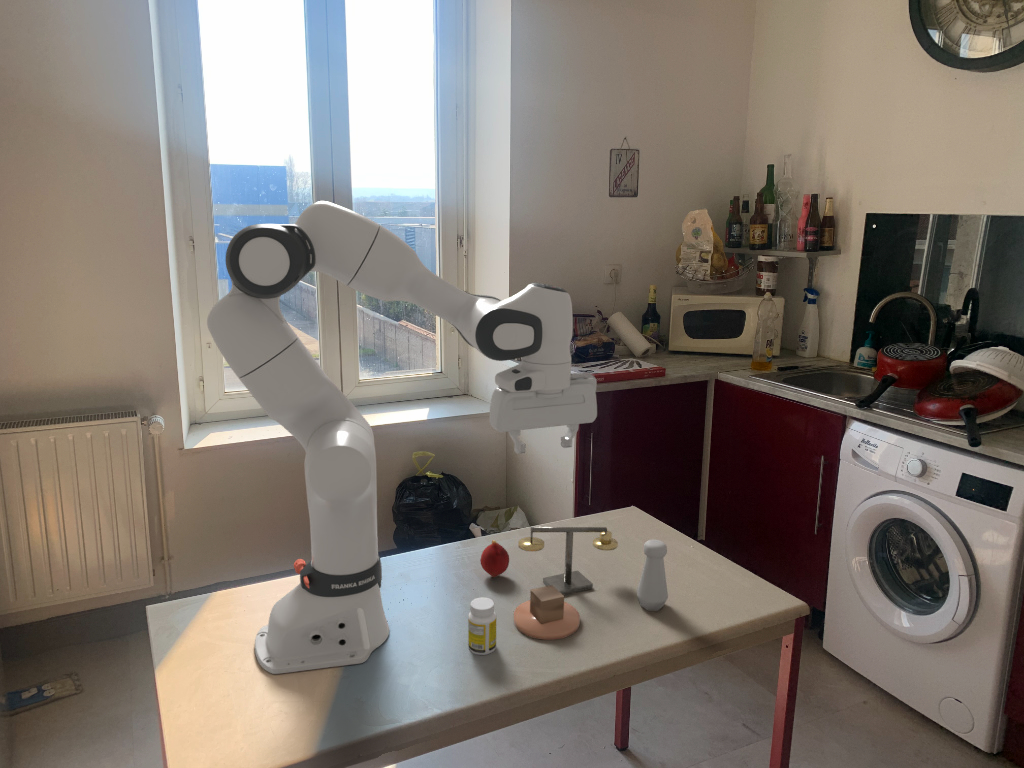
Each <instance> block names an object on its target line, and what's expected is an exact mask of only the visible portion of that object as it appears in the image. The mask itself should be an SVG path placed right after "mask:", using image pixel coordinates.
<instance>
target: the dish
mask: <svg viewBox="0 0 1024 768" xmlns="http://www.w3.org/2000/svg"><path fill="white" fill-rule="evenodd" d="M580 622H581V621H580V613H579V611H578V610H577V608H576V607H575V606H573V605H572V604H569V603H568V602H566V601H564V615H563V619H561V620H557V621H553V622H549V623H545V624H540V623H539V621H538V620H537V619H536V618H535V617H534V616H533V615H532V614H531V613H530V599H529V600H527V601H524V602H522V603H520V604H519V605H517V607H516V608H515V609H514V612H513V624H514V627H515V628H516V629H517V630H518V631H519V632H520V633H522V634H524V635H525V636H527V637H529V638H532V639H533V638H534V639H537V640H538V639H539V640H543V641H546V640H547V641H555V640H562V639H565V638H568V637H570V636H572V635H573V634H575V633H576V632H577V631H578V629H580V624H581V623H580Z"/></svg>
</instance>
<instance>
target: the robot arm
mask: <svg viewBox="0 0 1024 768" xmlns="http://www.w3.org/2000/svg"><path fill="white" fill-rule="evenodd" d="M225 267H226V271H227V274H228V276H229V278H230V281H231V289H230V290H229V292H228V293H227V294H226V295H224V296H223V297H222V298H221V299H219V300H218V301H217V302H216V303H215V304H214V305H213V307H212V308H211V309H210V311H209V313H208V316H207V320H206V325H207V328H208V331H209V333H210V335H211V338H212V339H213V341H214V343H215V345H216V347H217V348H218V351H219V352H220V354H221V355H222V357H223V358H224V360H225V362H226V363H227V364H228V366H229V367H230V369H231V370H232V371H233V373H234V374H235V375H236V377H237V378H238V379H239V381H240V382H241V383H242V384H243V386H244V387H245V388H246V390H247V391H248V392H249V393H250V395H251V396H252V397H253V399H254V400H255V401H256V402H257V404H258V405H259V406H260V407H261V409H262V410H263V411H264V412H265V413H266V415H267V416H268V417H269V418H270V419H271V420H273V421H275V422H276V423H278V424H279V425H280V426H281V427H283V428H284V429H285V431H287V432H288V433H289V434H290V435H292V437H293V438H294V439H296V440H297V442H298V443H299V444H300V446H302V448H303V449H304V452H305V456H304V457H305V458H304V462H303V463H304V466H303V467H304V478H305V479H304V480H305V481H304V482H305V489H306V499H307V501H306V502H307V508H308V515H309V516H308V517H309V528H310V531H309V532H310V550H311V551H310V552H311V559H310V560H309V562H307V563H306V561H305V560H304V559H302V558H297V559H296V560H295V561H294V563H293V567H294V571H295V573H296V574H298V575H299V581H300V583H299V584H297V585H296V586H295V587H294V588H293V589H291V590H290V591H289V592H287V593H286V594H285V595H283V597H281V598H280V599H279V600H277V601H276V602H275V603H273V606H272V608H271V610H270V613H269V618H268V624H266V625H263V626H262V627H261V628H260V629H259V630H258V632H257V633H256V636H255V639H254V653H255V657H256V660H257V662H258V664H259V666H261V668H262V669H263V670H265V671H266V672H268V673H270V674H272V675H279V674H286V673H293V672H294V673H295V672H301V671H310V670H312V671H313V670H319V669H326V668H334V667H341V666H349V665H359V664H362V663H364V662H366V661H367V660H368V659H369V657H370V656H371V654H372V652H373V651H374V650H376V649H377V648H379V647H380V646H381V645H382V644H383V643H384V642H386V640H387V638H388V637H389V634H390V625H389V623H388V621H387V617H386V615H385V610H384V605H383V601H382V599H383V598H382V594H381V588H382V580H383V576H382V573H383V569H382V567H383V566H382V562H381V557H380V556H379V547H378V544H379V543H378V542H379V541H378V540H379V539H378V494H377V493H378V489H377V488H378V487H377V481H378V480H377V479H378V478H377V455H376V453H377V452H376V446H375V437H374V436H375V435H374V431H373V428H372V426H371V425H370V424H369V422H368V421H367V419H366V418H365V417H364V416H363V414H362V413H361V412H360V411H359V410H358V408H357V407H356V406H355V405H354V404H353V402H352V401H351V400H350V399H349V398H348V397H347V396H346V395H345V394H344V393H343V392H342V390H341V389H339V387H338V386H337V385H336V383H334V382H333V381H332V379H330V377H328V375H327V374H326V372H325V371H324V370H323V368H322V366H320V364H319V362H318V361H317V360H316V359H315V358H314V356H313V355H312V354H311V352H310V351H309V349H307V347H306V346H305V344H304V343H303V341H302V340H301V339H300V337H299V336H298V335H297V334H296V332H295V331H294V329H293V327H291V326H290V324H289V323H288V322H287V320H286V318H285V316H284V315H283V313H282V310H281V307H280V301H281V300H280V299H281V296H282V295H284V294H287V293H288V292H290V291H291V290H292V289H294V288H295V286H297V285H298V283H300V282H301V280H302V279H304V278H305V276H306V275H308V274H309V273H310V272H316V273H321V274H323V275H326V276H329V277H330V278H332V279H334V280H336V281H338V282H340V283H341V284H343V285H345V286H346V287H349V288H350V289H352V290H354V291H357V292H359V293H360V294H363V295H366V296H369V297H372V298H374V299H376V300H380V301H384V302H397V301H398V302H399V301H400V302H406V303H411V304H414V305H416V306H418V307H420V308H421V309H424V310H425V311H427V312H430V313H432V314H433V315H435V316H437V317H439V318H440V319H442V320H443V321H445V322H447V323H449V324H451V326H453V327H454V328H455V330H457V332H458V334H459V335H460V336H461V338H462V339H463V340H464V342H466V343H467V344H468V345H469V346H470V347H472V348H475V350H476V351H478V352H479V353H480V354H482V355H483V356H484V357H486V358H488V359H489V360H492V361H497V362H504V361H511V360H515V359H520V358H521V359H520V360H521V362H520V363H518V364H516V365H514V366H512V367H509V368H506V369H504V370H502V371H500V372H498V373H496V374H495V376H494V382H495V384H496V385H497V387H496V388H495V389H494V390H493V392H492V395H491V398H490V406H489V417H488V418H489V424H490V426H491V427H492V428H493V429H494V430H495V431H497V432H498V433H506V432H508V435H509V437H510V438H511V440H512V442H513V444H514V445H513V450H514V453H515V454H517V455H519V454H525V453H526V444H527V443H524V442H523V441H521V440H520V439H519V437H520V436H521V431H525V430H535V429H545V428H554V427H562V426H566V427H567V428H568V429H567V430H566V432H565V435H564V436H563V435H562V436H560V446H561V447H562V448H564V449H567V448H572V447H573V439H574V437H575V436H576V435H577V432H578V431H579V426H580V424H590V423H593V422H594V421H596V418H597V417H598V404H597V403H598V402H597V393H596V392H597V384H598V383H597V382H598V381H597V379H596V377H595V375H593V374H591V373H590V372H586V371H585V372H581V373H579V372H578V373H577V372H575V373H574V372H571V371H572V354H571V349H570V346H571V341H572V338H573V328H574V327H573V322H574V320H573V303H572V299H571V295H570V293H569V292H568V291H567V290H565V289H564V288H562V287H559V286H554V285H550V284H547V283H545V284H544V283H541V282H532V283H529V284H527V286H526V287H525V288H523V289H522V290H520V291H518V292H517V293H516V294H514V295H511V296H510V297H507V298H505V299H503V300H501V299H500V298H497V297H495V296H491V295H484V294H473V293H470V292H468V291H465V290H462V289H461V288H459V287H458V286H456V285H454V284H452V283H450V282H449V281H447V280H446V279H443V277H440V276H439V275H436V274H435V273H434V272H432V270H430V269H428V267H426V266H425V264H424V263H423V262H422V260H420V258H419V256H418V254H417V252H416V251H415V250H414V249H413V247H411V246H410V245H409V244H408V243H406V241H404V240H403V239H401V238H400V237H399V236H398V235H396V234H395V233H393V232H392V231H391V230H389V229H387V227H384V226H382V225H381V224H379V223H377V222H376V221H374V220H372V219H370V218H368V217H366V216H364V215H363V214H360V213H358V212H356V211H354V210H352V209H349V208H346V207H344V206H342V205H338V204H335V203H333V202H330V201H328V200H327V201H325V200H320V201H316V202H314V203H311V204H310V205H308V206H307V207H306V208H305V209H304V210H303V211H302V212H301V213H300V214H299V216H298V218H297V220H296V221H295V222H294V223H293V224H292V223H290V224H288V223H287V224H286V223H284V224H282V223H281V224H279V223H256V224H252V225H247V226H246V227H244V228H242V229H240V230H239V231H238V232H236V233H235V235H234V236H233V237H232V238H231V239H230V242H229V244H228V245H227V248H226V252H225Z"/></svg>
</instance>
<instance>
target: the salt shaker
mask: <svg viewBox="0 0 1024 768" xmlns="http://www.w3.org/2000/svg"><path fill="white" fill-rule="evenodd" d="M643 554H644V555H645V560H644V565H643V569H642V572H641V575H640V579H639V582H638V585H637V590H636V596H637V599H638V602H639V605H640V606H641V608H643V609H645V610H646V611H654V612H658V611H659V610H661V609H662V608H663V607H664V605H665V604H666V602H667V601H668V597H669V593H668V585H667V576H666V569H665V568H666V567H665V560H664V557H666V556H667V554H668V546H667V544H666V542H664V541H662V540H659V539H649V540H647V541H645V542H644V544H643Z"/></svg>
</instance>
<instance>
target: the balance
mask: <svg viewBox="0 0 1024 768" xmlns="http://www.w3.org/2000/svg"><path fill="white" fill-rule="evenodd" d="M534 533H565V549H564V551H565V553H564V554H565V555H564V573H560V574H554V575H550V576H545V577H542V583H543V584H544V585H545V586H550V585H553V586H554V587H555V588H556V589H557V590H558V591H559V592H560V593H561V594H562V595H563V596H566V595H569V594H573V593H578V592H583V591H586V590H587V591H588V590H591V589H593V588H594V587H593V586H594V585H593V582H592V581H590V579H588V578H587V577H586V576H585V575H583V574H582V573H581V572H580V571H579V570H574V571H573V569H572V568H573V551H574V548H573V546H574V533H599V536H598V537H596V538H594V539H593V540H592V546H593V547H594V549H596V550H597V549H598V550H600V551H613V550H616V549H617V548H618V546H619V543H618V540H617V539H614V538H612V536H613V532H612V531H610V530H608V528H607V526H605V527H604V526H598V527H596V526H592V527H591V526H587V527H586V526H581V527H580V526H531V527H530V536H527V537H523V538H521V539H519V540H518V543H517V545H518V548H519V549H520V550H522V551H526V552H539V551H541V550H544V548H545V541H544V540H543V539H541V538H538V537H537V536H536V537H534V536H533V535H534Z"/></svg>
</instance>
